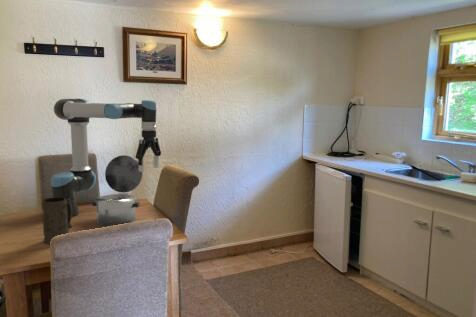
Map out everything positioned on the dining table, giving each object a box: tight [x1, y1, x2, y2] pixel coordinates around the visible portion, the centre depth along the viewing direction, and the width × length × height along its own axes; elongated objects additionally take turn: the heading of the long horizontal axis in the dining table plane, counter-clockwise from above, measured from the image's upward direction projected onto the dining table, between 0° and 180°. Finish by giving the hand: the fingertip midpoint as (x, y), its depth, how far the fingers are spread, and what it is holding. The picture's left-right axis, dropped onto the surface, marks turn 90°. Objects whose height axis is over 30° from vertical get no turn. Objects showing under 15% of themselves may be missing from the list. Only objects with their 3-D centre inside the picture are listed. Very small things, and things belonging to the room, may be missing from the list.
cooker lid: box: [104, 154, 143, 194], centre depth 220 cm, size 21×21×4 cm
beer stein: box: [41, 197, 73, 245], centre depth 181 cm, size 15×11×20 cm
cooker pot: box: [91, 192, 141, 227], centre depth 210 cm, size 25×21×12 cm
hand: (148, 169), depth 207 cm, fingers open, 13 cm apart
